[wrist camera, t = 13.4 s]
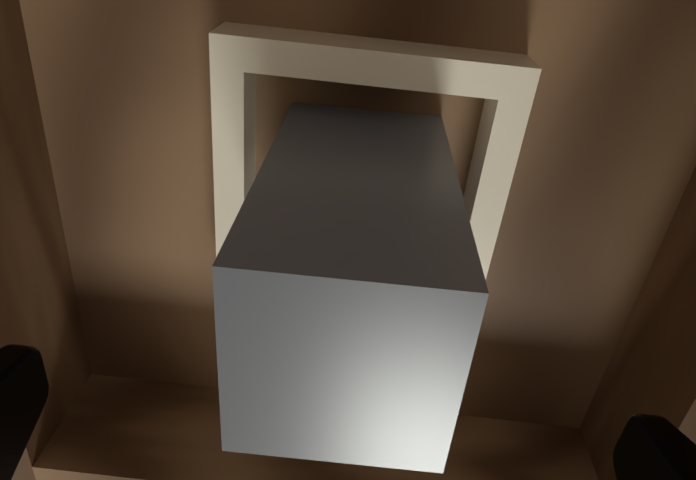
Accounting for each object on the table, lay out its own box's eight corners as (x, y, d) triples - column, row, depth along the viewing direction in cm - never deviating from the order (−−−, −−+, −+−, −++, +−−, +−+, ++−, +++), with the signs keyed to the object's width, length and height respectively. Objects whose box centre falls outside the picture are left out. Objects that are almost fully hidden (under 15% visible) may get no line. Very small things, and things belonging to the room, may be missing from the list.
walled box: (889, -230, 12) (1184, -312, 7) (589, 428, 22) (639, 555, 18) (-63, -331, 12) (-324, -471, 7) (81, 371, 22) (6, 484, 18)
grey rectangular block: (441, 116, 15) (489, 293, 8) (420, 244, 17) (443, 473, 10) (292, 102, 15) (211, 266, 8) (288, 232, 17) (222, 451, 10)
